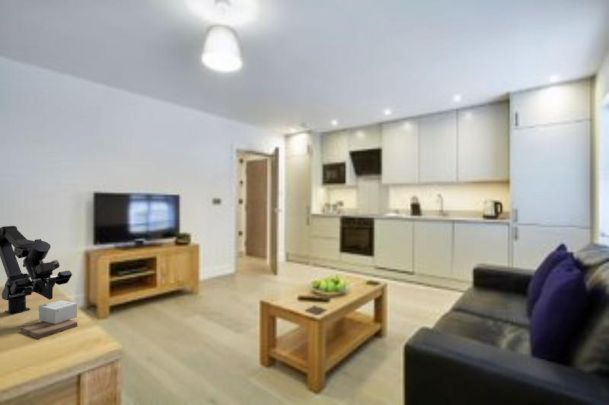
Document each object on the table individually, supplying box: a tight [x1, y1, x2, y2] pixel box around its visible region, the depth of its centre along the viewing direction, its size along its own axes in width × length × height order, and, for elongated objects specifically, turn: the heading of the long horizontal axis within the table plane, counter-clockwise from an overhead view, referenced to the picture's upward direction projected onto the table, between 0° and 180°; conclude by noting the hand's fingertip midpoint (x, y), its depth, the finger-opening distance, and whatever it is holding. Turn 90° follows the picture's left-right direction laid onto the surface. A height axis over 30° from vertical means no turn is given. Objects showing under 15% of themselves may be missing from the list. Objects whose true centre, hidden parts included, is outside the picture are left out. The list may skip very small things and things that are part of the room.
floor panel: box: [20, 319, 78, 340], centre depth 119 cm, size 14×12×2 cm
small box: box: [38, 299, 78, 324], centre depth 125 cm, size 8×6×10 cm
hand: (51, 298), depth 125 cm, fingers closed
